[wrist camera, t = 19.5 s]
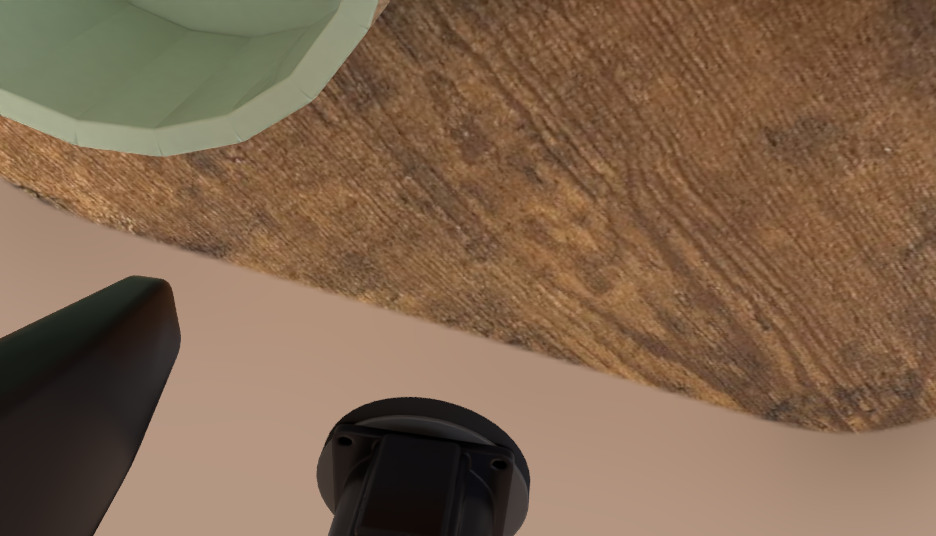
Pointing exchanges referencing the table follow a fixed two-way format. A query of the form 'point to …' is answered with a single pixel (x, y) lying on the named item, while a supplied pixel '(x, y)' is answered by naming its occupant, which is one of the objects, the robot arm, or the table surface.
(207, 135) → the bowl
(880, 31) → the table surface
